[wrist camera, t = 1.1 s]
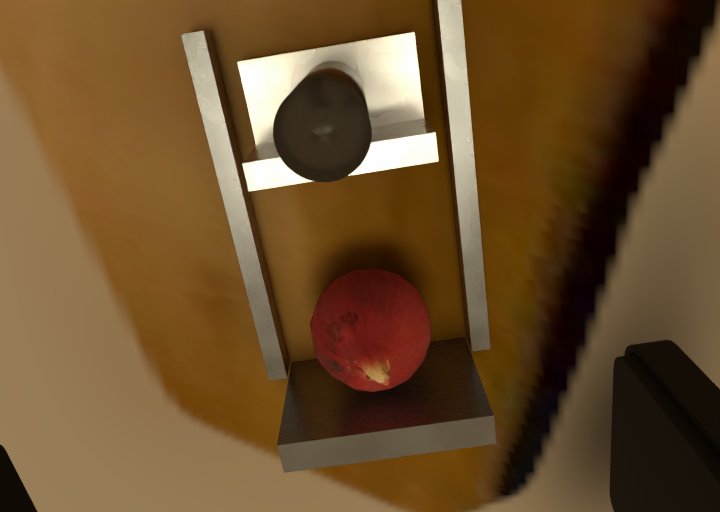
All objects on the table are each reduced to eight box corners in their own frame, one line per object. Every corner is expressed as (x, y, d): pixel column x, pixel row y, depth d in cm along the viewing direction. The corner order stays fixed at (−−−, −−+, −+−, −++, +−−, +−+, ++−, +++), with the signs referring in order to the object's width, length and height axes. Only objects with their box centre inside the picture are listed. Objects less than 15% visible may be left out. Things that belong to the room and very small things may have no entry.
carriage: (242, 60, 27) (165, 84, 16) (411, 31, 26) (456, 35, 15) (265, 164, 29) (211, 252, 18) (424, 139, 28) (471, 212, 17)
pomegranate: (324, 348, 33) (317, 442, 25) (306, 254, 31) (292, 327, 23) (426, 334, 32) (449, 425, 25) (415, 239, 30) (436, 308, 23)
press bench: (189, 33, 26) (137, 36, 20) (454, -12, 26) (488, -25, 19) (278, 389, 34) (261, 475, 27) (486, 359, 33) (519, 440, 27)
